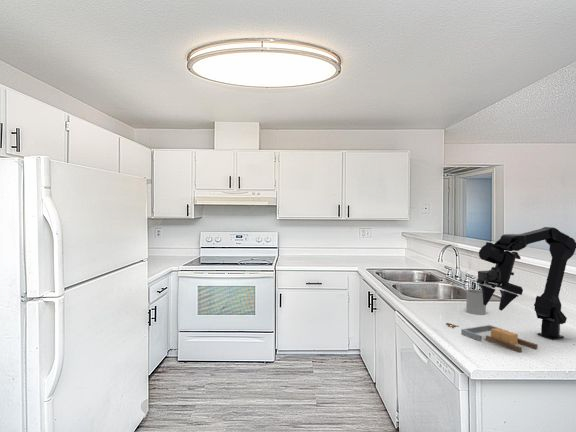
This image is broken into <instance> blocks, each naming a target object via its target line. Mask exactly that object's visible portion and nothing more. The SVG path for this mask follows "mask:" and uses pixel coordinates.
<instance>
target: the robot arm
mask: <svg viewBox="0 0 576 432" xmlns="http://www.w3.org/2000/svg"><path fill="white" fill-rule="evenodd" d="M541 241H545V242H546V244H547V245H549V253H550V255H551V261H550V264H549V268H548V269H549V270H548V273H547V278H546V282H545V286H544V289H543V293H542V294H541V295H536V297H535V301H534V304H533V306H534V308H533V309H534V311H535V315H536V318H537V319H540V320H541V328H540V331H541V332H538V333H537V335H538V336H541V337H544V338H548V339H550V340H557V339H562V338H563V339H564V337H565V336H564V335H561V325H564V324H566V322H567V320H568V318H567V316H566V315H565V314H564V313H563V311H562V303H561V300H560V297H559V296H560V292H561V287H562V283H563V280H564V279H563V278H564V276H565V270H566V267H567V263H568V260H570V259H571V258H572V257H573V256H574V255H575V251H576V240H575V239H574V238H573V237H571V236H570V235H568V234H566V233H564V232H562V231H560V230H559V229H558V228H556V227H552V226H551V227H550V226H544V227H542V228H538V229H535V230H531V231H527V232H523V233H505V234H502V235H501V236H500V238H499V239H498V240H497V241H496V242H494V243H493V242H489V241H487V242H486V243H485V244H484V245H483V246H481V248H480V249H479V251H478V257H479V259H481V260H483V261H485V262H488V263H492V264H495V266H492V267H491V268H490V269H489V270H478V271H477V279H476V284H478V287H480V289H481V291H482V293H483V305H486V306H487V305H488V303H490V300H491V298H492V297H493V295H494V293H495V292H496V289H495V288H499V292H500V294H501V296H500V301H499V307H498V310H499V311H503V310H504V309H505V308H506V307H507V306H508V305H509V304H510V303H511V302H512V301H513V300H515V299H516V298H519V296H523V291H524V289H523V287H522V286H521V285H517V284H513V283H511V282H510V279H511V276H514V275H515V273H514V272H513V269H514V266H515V262H516V260H521V256H520V255H519V253H518V252H520V251H521V250H523V249H525V248H526V247H527V245H531V244H534V243H537V242H541Z"/></svg>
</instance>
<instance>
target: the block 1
mask: <svg viewBox="0 0 576 432" xmlns="http://www.w3.org/2000/svg"><path fill="white" fill-rule="evenodd" d="M500 328H501V327H498V328H495V329H491V331H490V337H493V338H496V339H499V340H500V333H501V332H505V331H506V330H507V329H504V330H503V328H501V329H500Z"/></svg>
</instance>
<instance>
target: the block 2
mask: <svg viewBox="0 0 576 432" xmlns="http://www.w3.org/2000/svg"><path fill="white" fill-rule="evenodd" d="M518 335H519V334H518V333H516V332H513V331H512V332H511V331H510V330H507V331H505V332H501V333H500V340H501V341H504V342H507V343H510V344H513V345H516V346H518V338H519V336H518Z"/></svg>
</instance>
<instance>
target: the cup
mask: <svg viewBox="0 0 576 432" xmlns="http://www.w3.org/2000/svg"><path fill="white" fill-rule="evenodd" d="M486 308H487V305H483V293H482V289H481V290H479V289H467V290H466V307H465V311H466V313H468V314H470V315H475V316H477V315H478V316H483V315H486V313H487V311H486V310H487V309H486Z"/></svg>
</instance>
